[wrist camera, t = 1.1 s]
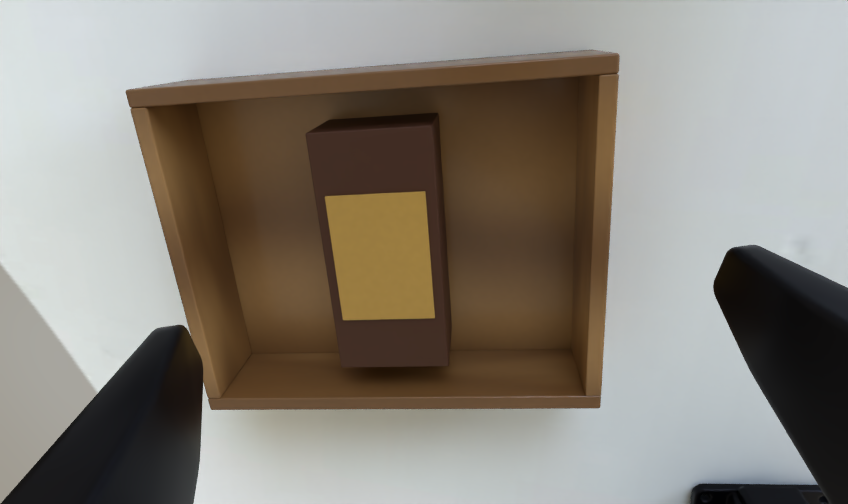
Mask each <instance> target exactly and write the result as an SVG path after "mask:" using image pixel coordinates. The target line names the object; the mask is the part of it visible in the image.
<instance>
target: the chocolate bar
mask: <svg viewBox="0 0 848 504" xmlns="http://www.w3.org/2000/svg"><path fill="white" fill-rule="evenodd" d="M305 135H306V142H307V148H308V155H309V161H310V168H311V174H312V181H313V187H314V194H315V200H316V207H317V213H318V220H319V226H320V233H321V239H322V245H323V252H324V258H325V265H326V271H327V278H328V284H329V291H330V297H331V304H332V310H333V317H334V323H335V330H336V336H337V342H338V349H339V355H340V362H341V367H342V368H343V367H422V366H448V365H449V356H450V344H451V332H452V319H451V303H450V287H449V271H448V256H447V240H446V224H445V209H444V193H443V177H442V161H441V146H440V130H439V114H438V113H424V114H409V115H394V116H378V117H363V118H347V119H332V120H328V121H326V122H324V123H323V124H321V125H319V126H317V127H316V128H314V129H312V130H311V131H309V132H307V133H306V134H305Z"/></svg>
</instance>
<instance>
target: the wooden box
mask: <svg viewBox="0 0 848 504" xmlns="http://www.w3.org/2000/svg"><path fill="white" fill-rule="evenodd" d="M619 57H620V56H619V54H618V53H612V52H604V51H597V50H581V51H568V52H555V53H542V54H529V55H515V56H502V57H489V58H476V59H462V60H449V61H436V62H423V63H410V64H396V65H383V66H370V67H357V68H343V69H330V70H317V71H304V72H290V73H277V74H264V75H251V76H238V77H224V78H211V79H198V80H185V81H180V82H173V83H167V84H160V85H154V86H148V87H142V88H135V89H129V90H126V95H127V99H128V102H129V106H130V107H131V114H132V117H133V121H134V125H135V128H136V132H137V136H138V140H139V143H140V147H141V151H142V155H143V158H144V162H145V166H146V169H147V173H148V177H149V181H150V184H151V188H152V192H153V196H154V199H155V203H156V207H157V210H158V214H159V218H160V222H161V225H162V229H163V233H164V237H165V240H166V244H167V248H168V251H169V255H170V259H171V263H172V266H173V270H174V274H175V277H176V281H177V285H178V289H179V292H180V296H181V300H182V304H183V307H184V311H185V315H186V318H187V322H188V326H189V330H190V333H191V337H192V340H193V342H194V344H195V346H196V348H197V350H198V352H199V354H200V356H201V359H202V363H203V382H204V386H205V389H206V393H207V397H208V398H209V399H208V401H209V404H210V408H211V409H212V410H264V409H522V408H600V401H601V386H602V368H603V350H604V332H605V313H606V295H607V277H608V259H609V241H610V223H611V205H612V187H613V169H614V151H615V133H616V115H617V96H618V78H619V75H618V74H617V73H618V72H619ZM424 113H438V114H439V130H440V146H441V161H442V177H443V193H444V209H445V224H446V240H447V256H448V271H449V287H450V303H451V319H452V332H451V344H450V356H449V365H448V366H422V367H343V368H342V367H341V362H340V355H339V349H338V342H337V336H336V330H335V323H334V317H333V310H332V304H331V297H330V291H329V284H328V278H327V271H326V265H325V258H324V252H323V245H322V239H321V233H320V226H319V220H318V213H317V207H316V200H315V194H314V187H313V181H312V174H311V168H310V161H309V155H308V148H307V142H306V135H305V134H306V133H307V132H309V131H311V130H312V129H314V128H316V127H317V126H319V125H321V124H323V123H324V122H326V121H328V120H332V119H347V118H363V117H378V116H394V115H409V114H424Z"/></svg>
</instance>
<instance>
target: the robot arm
mask: <svg viewBox="0 0 848 504" xmlns="http://www.w3.org/2000/svg"><path fill="white" fill-rule="evenodd" d="M713 288H714V294H715V297H716V299H717V301H718V303H719V305H720V308H721V310H722V312H723V314H724V316H725V318H726V321H727V323H728V325H729V327H730V329H731V331H732V333H733V336H734V338H735V340H736V342H737V344H738V346H739V348H740V351H741V353H742V355H743V357H744V359H745V361H746V363H747V365H748V367H749V369H750V371H751V373H752V375H753V376H754V378H755V380H756V382H757V384H758V385H759V387H760V389H761V390H762V392H763V394H764V395H765V397H766V399H767V400H768V402H769V404H770V405H771V407H772V409H773V410H774V412H775V414H776V415H777V417H778V419H779V420H780V422H781V424H782V425H783V427H784V429H785V430H786V432H787V434H788V435H789V437H790V439H791V440H792V442H793V444H794V445H795V447H796V449H797V450H798V452H799V453H800V455H801V457H802V458H803V460H804V462H805V463H806V465H807V467H808V468H809V470H810V472H811V473H812V475H813V477H814V478H815V480H816V482H817V483H818V485H765V484H699V485H697V486H695V487H694V488H693V490H692V495H691V502H690V504H848V288H847V287H845V286H843V285H840V284H838V283H836V282H834V281H832V280H830V279H828V278H826V277H824V276H821V275H819V274H817V273H815V272H813V271H811V270H809V269H807V268H804V267H802V266H800V265H798V264H796V263H794V262H792V261H790V260H787V259H785V258H783V257H781V256H779V255H777V254H775V253H773V252H771V251H768V250H766V249H764V248H762V247H760V246H757V245H747V246H740V247H734V248H731V249H730V250H729V251H728V252H727V253H726V255H725V257H724V260H723V262H722V264H721V266H720V269H719V271H718V273H717V276H716V278H715V280H714V285H713ZM202 395H203V363H202V359H201V356H200V354H199V352H198V350H197V348H196V346H195V344H194V342H193V340H192V338H191V336H190V334H189V332H188V330H187V329H186V328H185V327H184V326H182V325H175V326H168V327H161V328H157V329H155V330H154V331H153V332H152V333H151V334H150V335H149V336H148V337H147V338H146V339H145V341H144V342H143V343H142V344H141V345H140V346H139V347H138V348H137V350H136V351H135V352H134V353H133V354H132V355H131V356H130V358H129V359H128V360H127V361H126V362H125V363H124V364H123V365H122V367H121V368H120V369H119V370H118V371H117V372H116V373H115V375H114V376H113V377H112V378H111V379H110V380H109V381H108V383H107V384H106V385H105V386H104V387H103V388H102V389H101V390H100V392H99V393H98V394H97V395H96V396H95V397H94V398H93V400H92V401H91V402H90V403H89V404H88V405H87V406H86V407H85V409H84V410H83V411H82V412H81V413H80V414H79V416H78V417H77V418H76V419H75V420H74V421H73V422H72V423H71V425H70V426H69V427H68V428H67V429H66V430H65V432H63V434H62V435H61V436H60V437H59V438H58V439H57V441H56V442H55V443H54V444H53V445H52V446H51V447H50V448H49V449H48V451H47V452H46V453H45V454H44V455H43V456H42V457H41V459H40V460H39V461H38V462H37V463H36V464H35V465H34V467H33V468H32V469H31V470H30V471H29V472H28V473H27V474H26V476H25V477H24V478H23V479H22V480H21V481H20V482H19V483H18V485H17V486H16V487H15V488H14V489H13V490H12V491H11V493H10V494H9V495H8V496H7V497H6V498H5V499H4V501H3V502H2V503H1V504H193V502H194V496H195V490H196V484H197V477H198V470H199V462H200V447H201V421H202ZM703 494H705V495H703Z"/></svg>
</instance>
